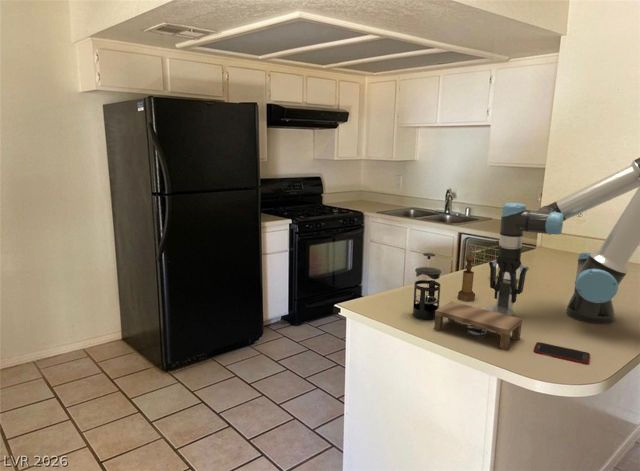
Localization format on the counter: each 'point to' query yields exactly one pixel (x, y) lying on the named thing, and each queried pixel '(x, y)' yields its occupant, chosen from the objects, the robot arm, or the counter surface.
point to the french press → (426, 302)
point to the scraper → (502, 299)
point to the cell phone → (562, 353)
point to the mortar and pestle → (467, 282)
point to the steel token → (476, 331)
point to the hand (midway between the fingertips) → (504, 309)
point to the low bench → (480, 320)
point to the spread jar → (507, 276)
